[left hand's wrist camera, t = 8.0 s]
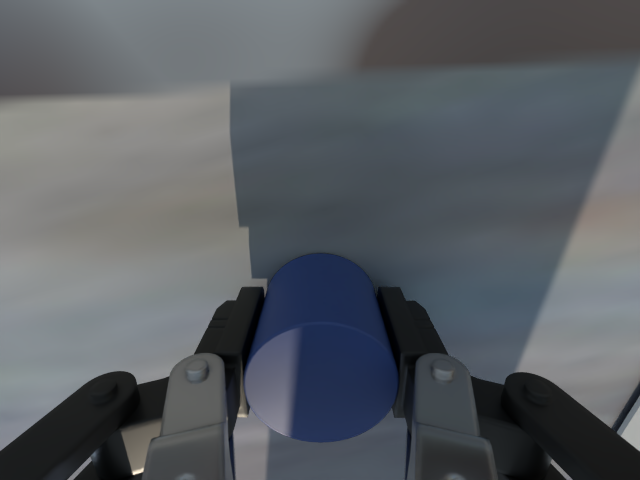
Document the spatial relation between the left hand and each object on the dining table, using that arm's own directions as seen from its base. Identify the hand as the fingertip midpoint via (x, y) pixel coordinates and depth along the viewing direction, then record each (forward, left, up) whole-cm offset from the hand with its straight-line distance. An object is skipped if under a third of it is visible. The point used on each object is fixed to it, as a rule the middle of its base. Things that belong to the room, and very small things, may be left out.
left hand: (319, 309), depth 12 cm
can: (0, 0, 0) cm, 0 cm away
